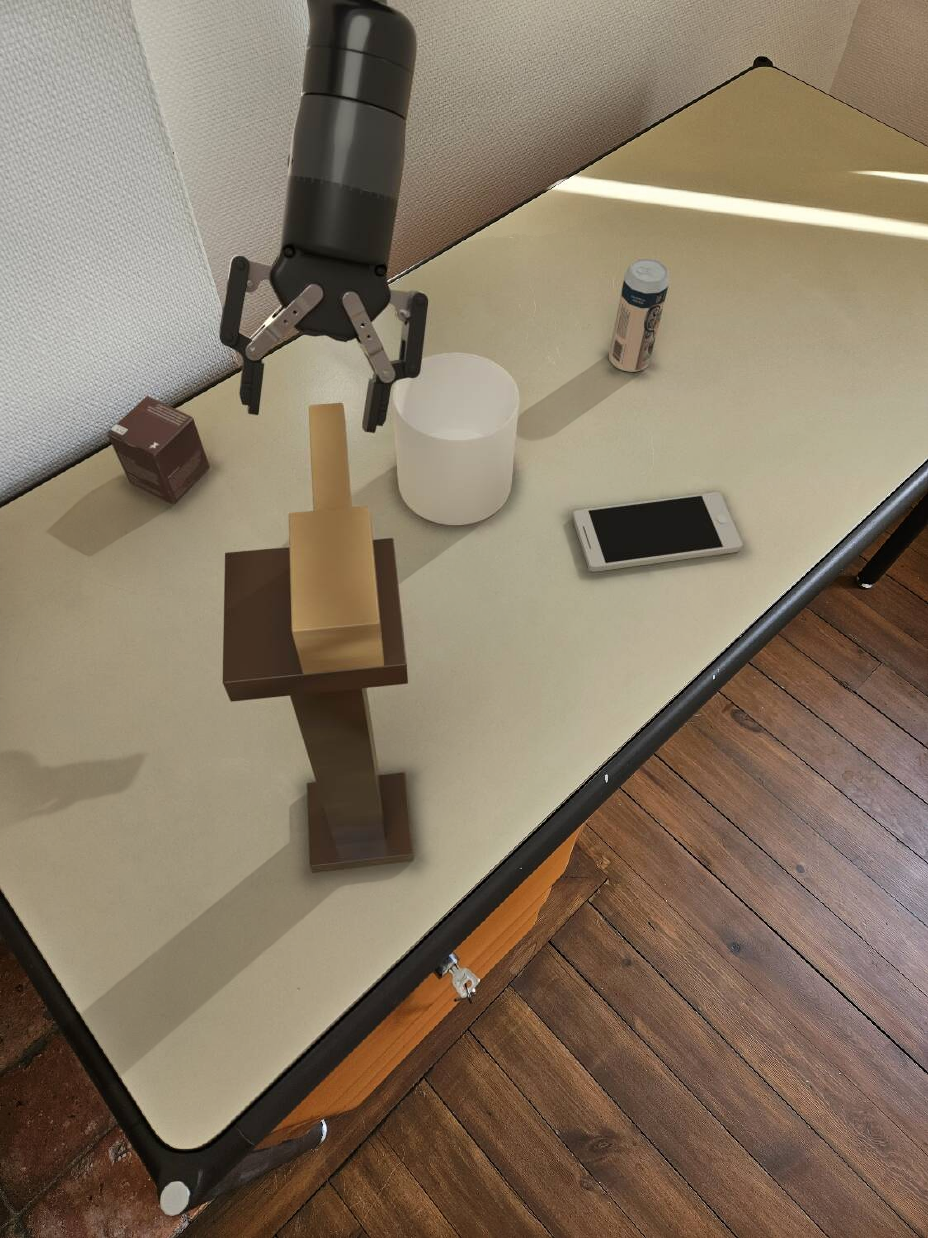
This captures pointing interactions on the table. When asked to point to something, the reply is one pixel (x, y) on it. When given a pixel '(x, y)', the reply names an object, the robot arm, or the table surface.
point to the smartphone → (656, 531)
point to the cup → (455, 438)
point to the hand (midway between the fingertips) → (312, 422)
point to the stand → (323, 708)
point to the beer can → (639, 314)
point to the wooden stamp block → (333, 561)
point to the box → (159, 449)
